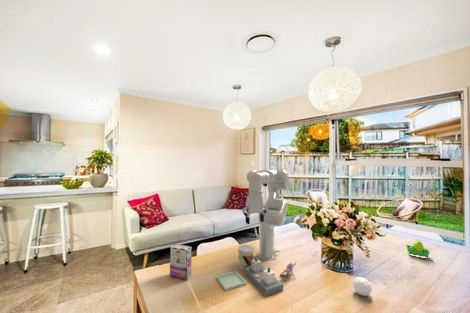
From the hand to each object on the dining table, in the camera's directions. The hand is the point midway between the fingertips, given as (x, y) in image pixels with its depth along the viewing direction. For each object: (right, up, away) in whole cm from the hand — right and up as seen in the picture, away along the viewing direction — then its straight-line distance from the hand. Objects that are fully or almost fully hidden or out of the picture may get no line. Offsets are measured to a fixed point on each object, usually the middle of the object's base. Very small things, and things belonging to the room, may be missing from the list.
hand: (254, 222), depth 119 cm
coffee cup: (-5, -29, +3) cm, 29 cm away
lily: (+19, -29, -6) cm, 35 cm away
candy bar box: (-42, -28, -7) cm, 51 cm away
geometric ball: (+51, -29, -20) cm, 61 cm away
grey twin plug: (0, -28, -6) cm, 28 cm away
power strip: (+3, -28, -11) cm, 30 cm away
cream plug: (+5, -27, -17) cm, 33 cm away
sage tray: (-14, -28, -12) cm, 33 cm away
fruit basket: (+114, -30, +20) cm, 120 cm away
